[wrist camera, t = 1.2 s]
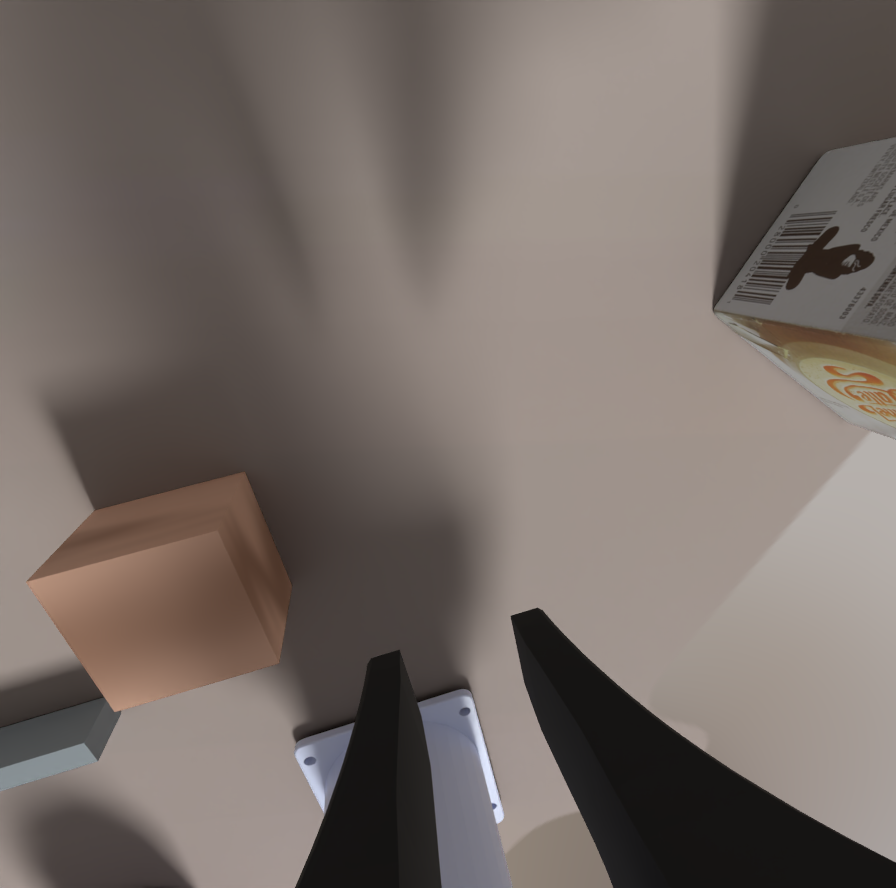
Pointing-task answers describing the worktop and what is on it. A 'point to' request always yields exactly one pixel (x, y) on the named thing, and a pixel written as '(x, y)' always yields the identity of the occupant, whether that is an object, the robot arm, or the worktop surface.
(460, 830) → the robot arm
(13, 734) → the slate bay
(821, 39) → the worktop surface
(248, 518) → the terracotta block
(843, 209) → the coffee box
